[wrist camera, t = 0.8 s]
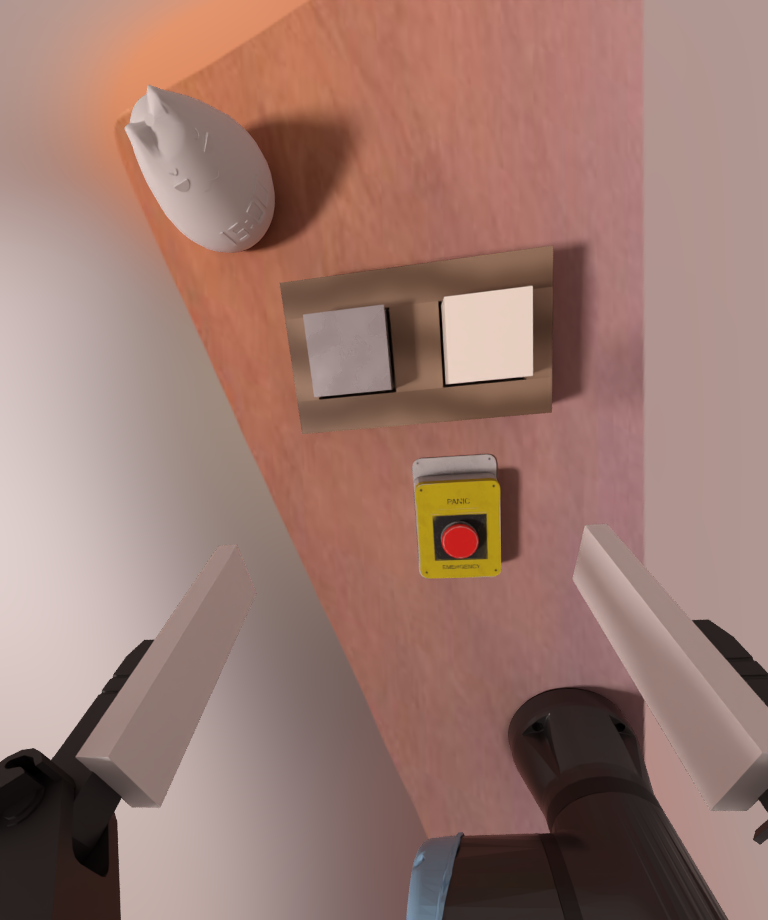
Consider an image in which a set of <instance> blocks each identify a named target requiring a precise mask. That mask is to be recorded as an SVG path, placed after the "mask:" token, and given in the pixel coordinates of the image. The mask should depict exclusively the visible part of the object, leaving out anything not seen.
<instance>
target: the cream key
mask: <svg viewBox="0 0 768 920" xmlns="http://www.w3.org/2000/svg"><path fill="white" fill-rule="evenodd" d="M441 318H442V335H443V353H444V371H445V384H454V383H464V382H474V381H484V380H494V379H505V378H515V377H525V376H533V286H527V287H519V288H511V289H503V290H495V291H487V292H479V293H471V294H463V295H455V296H447V297H444V299H443V302H442V305H441Z"/></svg>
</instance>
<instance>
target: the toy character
mask: <svg viewBox="0 0 768 920" xmlns="http://www.w3.org/2000/svg"><path fill="white" fill-rule="evenodd" d="M125 130H126V133H127V135H128V137H129V139H130V141H131V144H132V146H133V149H134V153H135V155H136V158H137V160H138V163H139V165H140V168H141V170H142V173H143V175H144V177H145V179H146V182H147V184H148V186H149V187H150V189H151V191H152V192H153V194H154V196H155V198H156V199H157V201H158V203H159V205H160V206H161V208H162V209H163V211H164V213H165V214H166V216H167V217H168V218H169V219H170V220H171V221H172V223H173V224H174V225H175V226H176V227H177V228H178V229H179V230H180V231H181V233H183V234H184V235H185V236H187V237H188V238H189V239H190V240H192V241H194V242H196V243H197V244H199V245H201V246H203V247H205V248H207V249H210V250H214V251H217V252H229V253H235V252H240V251H244V250H246V249H248V248H251V247H252V246H253V245H255V244H256V243H257V242H259V241H260V239H261V238H262V237H263V236H264V235H265V233H266V231H267V230H268V228H269V226H270V224H271V221H272V218H273V214H274V208H275V192H274V187H273V181H272V176H271V172H270V169H269V166H268V164H267V161H266V159H265V157H264V156H263V154H262V152H261V150H260V149H259V147H258V145H257V143H256V142H255V140H254V139H253V138H252V137H251V135H250V134H249V133H248V132H247V131H246V130H245V129H244V128H243V127H242V126H241V125H240V124H238V123H237V122H236V121H235V120H234V119H232V118H231V117H230V116H229V115H227V114H225V113H223V112H221V111H219V110H217V109H215V108H213V107H212V106H210V105H208V104H206V103H204V102H202V101H200V100H198V99H195V98H192V97H189V96H186V95H182V94H178V93H174V92H170V91H165V90H162V89H160V88H157V87H154V86H151V85H149V86H148V87H147V94H146V95H144V96H143V97H141V98H140V99H139V100H138V102H137V103H136V104H135V106H134V108H133V111H132V114H131V118H130V123H129V124H128V125H126V127H125Z"/></svg>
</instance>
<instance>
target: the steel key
mask: <svg viewBox="0 0 768 920" xmlns="http://www.w3.org/2000/svg"><path fill="white" fill-rule="evenodd" d="M303 319H304V326H305V334H306V341H307V348H308V356H309V363H310V370H311V377H312V385H313V392H314V397H321V396H332V395H342V394H352V393H362V392H372V391H382V390H392V389H394V388H393V376H392V365H391V354H390V342H389V331H388V320H387V312H386V309H385V307H384V305H376V306H368V307H360V308H352V309H344V310H336V311H328V312H320V313H312V314H304V315H303Z"/></svg>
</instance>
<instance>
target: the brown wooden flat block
mask: <svg viewBox="0 0 768 920" xmlns="http://www.w3.org/2000/svg"><path fill="white" fill-rule="evenodd" d="M527 286H533V376H525V377H515V378H505V379H494V380H484V381H474V382H464V383H454V384H445V371H444V353H443V335H442V318H441V305H442V302H443V299H444V297H447V296H455V295H463V294H471V293H479V292H487V291H495V290H503V289H511V288H519V287H527ZM280 288H281V294H282V301H283V308H284V315H285V321H286V328H287V335H288V342H289V348H290V355H291V362H292V369H293V375H294V382H295V389H296V396H297V402H298V409H299V416H300V422H301V429H302V434H308V433H320V432H332V431H343V430H355V429H366V428H378V427H389V426H401V425H412V424H424V423H436V422H447V421H459V420H470V419H482V418H493V417H505V416H517V415H528V414H540V413H551V412H552V325H553V246H546V247H539V248H532V249H524V250H517V251H510V252H503V253H495V254H488V255H481V256H473V257H466V258H459V259H452V260H444V261H437V262H430V263H422V264H415V265H408V266H401V267H393V268H386V269H379V270H371V271H364V272H357V273H350V274H342V275H335V276H328V277H320V278H313V279H306V280H299V281H291V282H284V283H280ZM376 305H384V307H385V309H386V312H387V320H388V331H389V342H390V354H391V365H392V376H393V388H394V389H392V390H382V391H372V392H362V393H352V394H342V395H332V396H321V397H314V392H313V385H312V377H311V370H310V363H309V356H308V348H307V341H306V334H305V326H304V319H303V315H304V314H312V313H320V312H328V311H336V310H344V309H352V308H360V307H368V306H376Z"/></svg>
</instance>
